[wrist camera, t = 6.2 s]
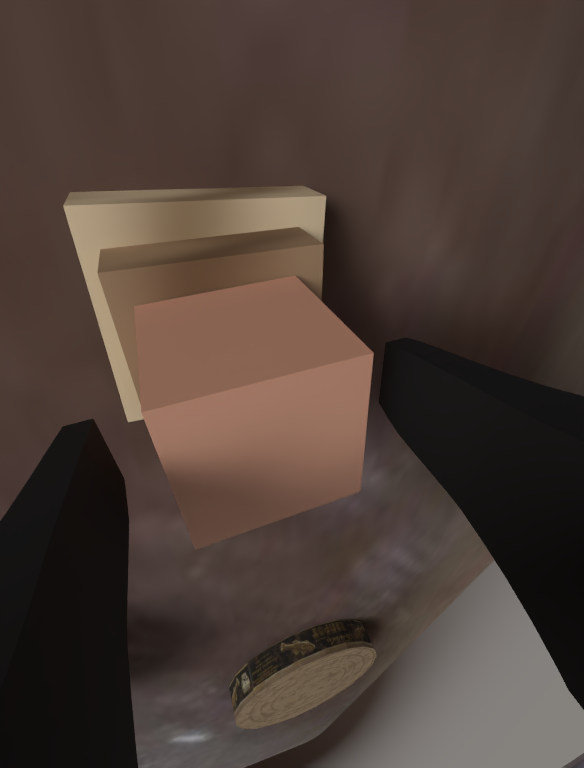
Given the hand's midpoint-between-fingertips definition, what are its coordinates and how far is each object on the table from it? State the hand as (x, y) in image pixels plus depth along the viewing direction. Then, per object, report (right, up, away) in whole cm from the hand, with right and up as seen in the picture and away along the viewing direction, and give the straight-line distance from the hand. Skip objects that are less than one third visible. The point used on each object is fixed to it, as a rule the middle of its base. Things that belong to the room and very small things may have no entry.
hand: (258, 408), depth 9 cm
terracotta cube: (-1, +1, +2) cm, 3 cm away
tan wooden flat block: (-2, +3, +4) cm, 5 cm away
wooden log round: (+2, -30, +33) cm, 44 cm away
